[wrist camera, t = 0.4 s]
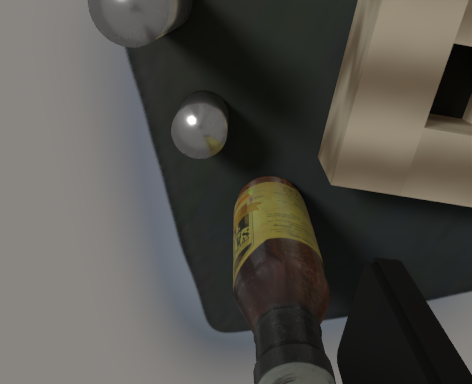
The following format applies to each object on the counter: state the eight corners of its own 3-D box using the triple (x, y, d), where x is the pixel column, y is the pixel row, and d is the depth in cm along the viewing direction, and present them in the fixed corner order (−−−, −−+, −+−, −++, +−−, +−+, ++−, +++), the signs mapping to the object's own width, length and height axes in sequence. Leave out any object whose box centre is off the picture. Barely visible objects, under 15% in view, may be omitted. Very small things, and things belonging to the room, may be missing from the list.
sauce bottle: (230, 175, 38) (222, 338, 20) (302, 169, 38) (360, 328, 20) (237, 241, 41) (236, 436, 23) (305, 235, 41) (358, 429, 23)
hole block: (372, -55, 31) (400, -65, 26) (585, -14, 32) (656, -15, 27) (317, 157, 38) (331, 184, 32) (496, 186, 39) (539, 217, 33)
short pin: (183, 86, 35) (174, 100, 31) (232, 94, 36) (231, 109, 31) (177, 134, 37) (168, 153, 32) (224, 141, 37) (222, 162, 33)
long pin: (140, -34, 32) (88, -49, 21) (195, -24, 32) (173, -33, 21) (136, 24, 34) (86, 40, 23) (189, 34, 34) (164, 53, 23)
